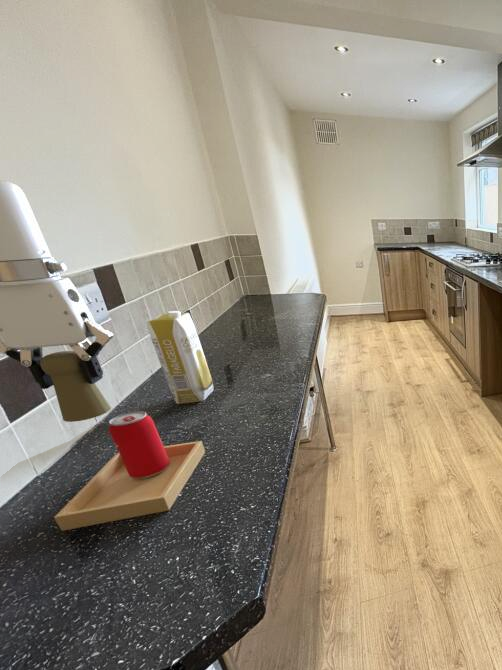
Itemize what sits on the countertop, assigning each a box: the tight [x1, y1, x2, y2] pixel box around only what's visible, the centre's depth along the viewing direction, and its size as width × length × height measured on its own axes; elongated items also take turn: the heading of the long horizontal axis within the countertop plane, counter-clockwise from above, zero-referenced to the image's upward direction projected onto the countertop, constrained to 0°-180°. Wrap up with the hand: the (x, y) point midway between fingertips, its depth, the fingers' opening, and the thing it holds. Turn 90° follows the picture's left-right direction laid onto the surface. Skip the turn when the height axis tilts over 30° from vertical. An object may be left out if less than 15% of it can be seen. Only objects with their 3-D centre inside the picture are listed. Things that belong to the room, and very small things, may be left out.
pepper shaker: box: [40, 350, 112, 423], centre depth 68 cm, size 6×6×11 cm
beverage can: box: [108, 410, 170, 479], centre depth 78 cm, size 6×6×12 cm
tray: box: [53, 440, 206, 532], centre depth 76 cm, size 15×20×3 cm
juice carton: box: [146, 310, 215, 405], centre depth 108 cm, size 9×8×24 cm
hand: (73, 382), depth 68 cm, fingers closed on pepper shaker, 5 cm apart
